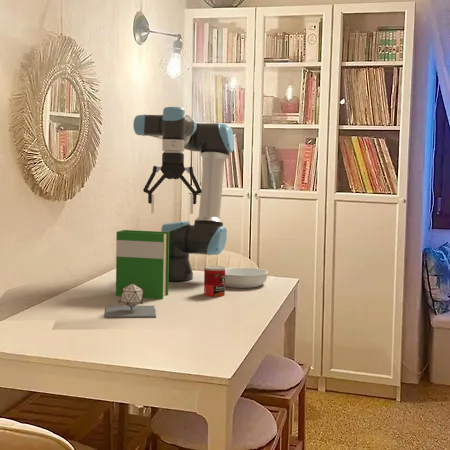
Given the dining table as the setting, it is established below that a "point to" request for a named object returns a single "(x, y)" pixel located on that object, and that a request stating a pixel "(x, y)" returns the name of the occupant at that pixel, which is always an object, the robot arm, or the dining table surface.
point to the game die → (131, 295)
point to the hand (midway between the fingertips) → (172, 213)
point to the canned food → (214, 281)
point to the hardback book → (143, 262)
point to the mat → (130, 312)
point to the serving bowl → (245, 277)
